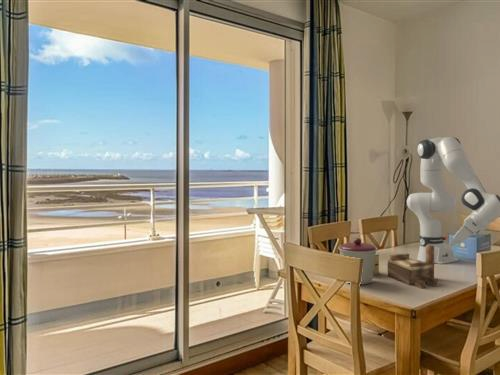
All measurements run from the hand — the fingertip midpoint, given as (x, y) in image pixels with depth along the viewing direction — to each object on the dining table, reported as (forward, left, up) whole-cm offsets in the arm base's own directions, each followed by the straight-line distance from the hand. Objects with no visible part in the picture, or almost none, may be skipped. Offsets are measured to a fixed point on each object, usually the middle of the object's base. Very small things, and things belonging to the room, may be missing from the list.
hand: (451, 244), depth 194 cm
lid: (+17, -9, -10) cm, 21 cm away
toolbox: (+17, -6, -17) cm, 25 cm away
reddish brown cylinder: (+7, -6, -17) cm, 20 cm away
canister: (+42, -14, -17) cm, 48 cm away
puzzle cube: (+30, -26, -18) cm, 44 cm away
